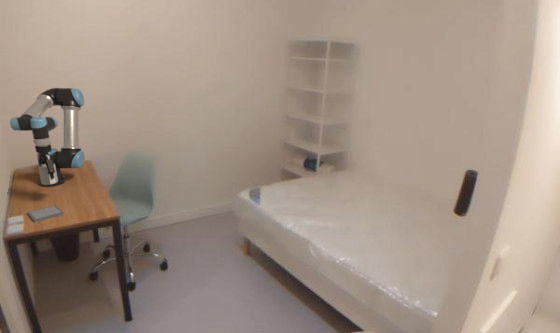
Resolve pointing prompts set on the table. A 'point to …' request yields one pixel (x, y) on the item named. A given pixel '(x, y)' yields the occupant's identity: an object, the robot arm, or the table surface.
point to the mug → (46, 174)
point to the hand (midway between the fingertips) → (49, 180)
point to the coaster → (45, 213)
